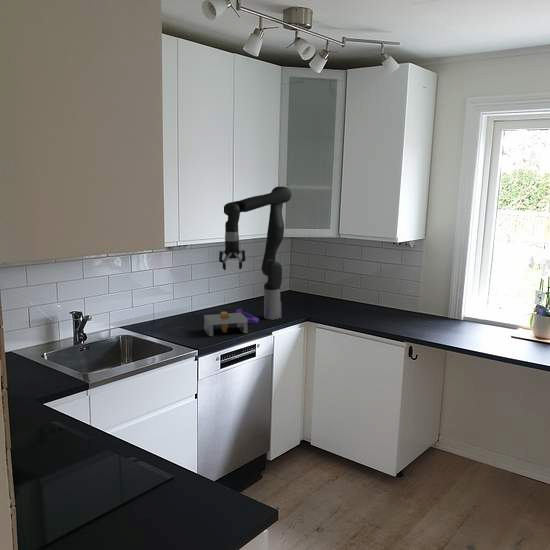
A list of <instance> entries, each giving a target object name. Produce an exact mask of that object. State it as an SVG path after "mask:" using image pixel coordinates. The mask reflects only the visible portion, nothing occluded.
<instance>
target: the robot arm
mask: <svg viewBox="0 0 550 550" xmlns="http://www.w3.org/2000/svg"><path fill="white" fill-rule="evenodd" d="M291 198H292V190H291V189H290V188H288V187H286V186H276V187H274V188H272V190H271V192H269V193H266V194H260V195H255V196H250V197H247V198H243V199H240V200H236V201H230V202H228V203H225V204H224V206H223V207H224V212H223V213H224V215H226V216H227V220H226V221H225V226H224V228H225V233H224V248H225V249H224V250H219V253H218V262H220V263H222V269H223V270H224V271H226V270H227V263H226V262H227V261H228V260H229V259H230V260H231V259H234V260H235V259H237V261H238V270H242V268H243V262H245V261H246V250H244V249H242V250H240V236H239V222H240V217H241V213H247V212H250V211H254V210H257V209H260V208H263V207H267V206H270V207H269V209H270V210H269V218H268V226H267V231H266V232H267V233H266V242H265V248H264V255H263V260H262V262H261V263H262V264H261V271H262V274H263V275H264V276H266V277H267V281H266V283H264V285H263V293H264V294H263V297H264V298H263V300H264V302H263V304H264V305H263V312H264V313H263V315H264V317H263V318H264V319H265V320H269V319H270V321H272V320H273V321H274V320H275V319H276V320H280V319H282V301H281V285H282V283H283V281H282V280H283V267H282V264H281V263H280V262H279V261H276V255H277V251H278V249H279V247H280V246H281V243H283V242H282V241H283V238H284V234H285V223H284V222H285V221H284V219H283V207H284V206H283V205H284V204H286V203H287V202H289V201H290V200H291ZM224 254H225V256H224V258H223V255H224ZM240 254H241V257H240V256H239V255H240ZM279 318H280V319H279Z"/></svg>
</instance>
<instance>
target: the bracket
mask: <svg viewBox="0 0 550 550" xmlns="http://www.w3.org/2000/svg"><path fill="white" fill-rule="evenodd" d="M235 313H242V314H243V315H244V316H245V317H246V318H247V324H255V323H257V322H258V323H259V321H260V318H259V317H257V316H254V315H252V314H250V313H248V312H245V311H243V309H242V308H237V309H236V310H235ZM258 323H257V324H258Z"/></svg>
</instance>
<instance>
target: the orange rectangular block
mask: <svg viewBox="0 0 550 550" xmlns="http://www.w3.org/2000/svg"><path fill="white" fill-rule="evenodd" d="M220 314H221V317H222V318H228V312H227V311H220ZM220 329H221V332H222V333H228V329H229V324H220Z"/></svg>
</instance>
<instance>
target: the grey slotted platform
mask: <svg viewBox="0 0 550 550" xmlns="http://www.w3.org/2000/svg"><path fill="white" fill-rule="evenodd" d="M227 313H228V312H227ZM203 320H204V321H203V324H204V325H203V329H204V331H205V333H206V335H209V336H212V337H214V326H215V325H216V326H218V325H221V324H228V325H230V324H237V328H238V330H239V331H240V332H241V333H242V334H243V333H247V334H248V331H249V330H248V326H249V325H248V323H247V318H246V317H245V316H244V315H243V314H242V313H236V312H233V313H232V312H231V313H228V318H222V317H221V313H218V314H205V315H203ZM247 334H246V335H247ZM209 336H208V337H209Z"/></svg>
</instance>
